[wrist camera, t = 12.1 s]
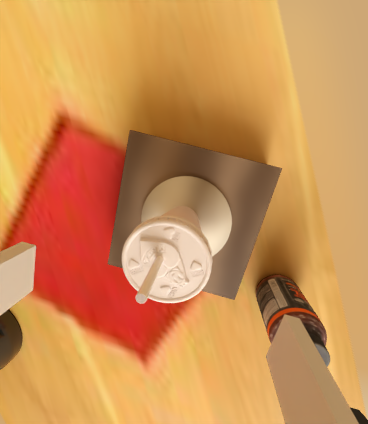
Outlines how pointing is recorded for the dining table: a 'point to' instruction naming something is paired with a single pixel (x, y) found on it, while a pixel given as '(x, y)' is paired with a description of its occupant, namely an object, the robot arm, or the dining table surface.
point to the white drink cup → (168, 257)
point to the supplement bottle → (289, 310)
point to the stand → (196, 200)
